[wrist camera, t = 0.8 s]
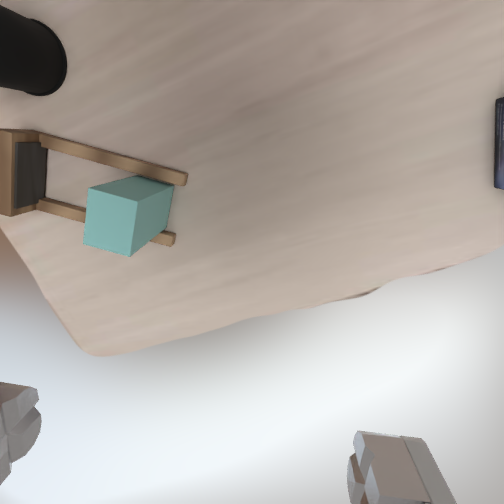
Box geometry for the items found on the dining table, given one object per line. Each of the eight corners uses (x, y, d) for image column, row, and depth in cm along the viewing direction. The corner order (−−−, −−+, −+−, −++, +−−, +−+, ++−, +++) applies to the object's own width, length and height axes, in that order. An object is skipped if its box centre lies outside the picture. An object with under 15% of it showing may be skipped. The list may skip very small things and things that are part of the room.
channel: (187, 173, 43) (174, 178, 37) (174, 243, 46) (159, 258, 40) (32, 129, 42) (-6, 128, 37) (29, 203, 46) (-6, 212, 40)
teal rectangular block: (174, 185, 43) (137, 201, 32) (166, 227, 45) (129, 256, 34) (137, 175, 43) (88, 187, 32) (131, 217, 45) (83, 243, 34)
